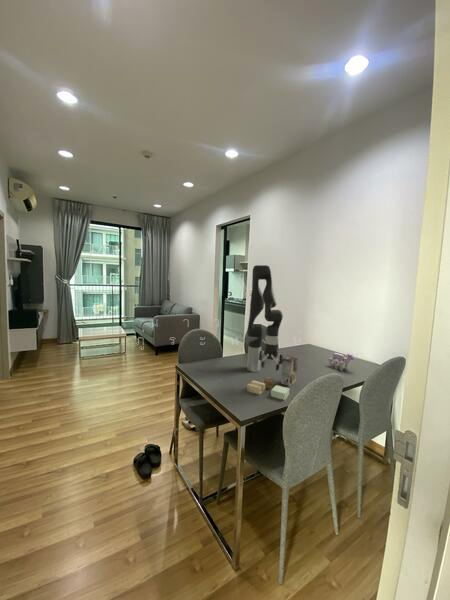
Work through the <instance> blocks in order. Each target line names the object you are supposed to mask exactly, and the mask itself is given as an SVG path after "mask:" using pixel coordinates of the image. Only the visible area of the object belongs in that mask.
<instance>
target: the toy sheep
mask: <svg viewBox="0 0 450 600" xmlns="http://www.w3.org/2000/svg"><path fill="white" fill-rule="evenodd" d="M353 360H357V358H356V357H355V356H354V355H353V353H350V352H348V353H345V354H341V353H338V352H333V354H332V357H329V358H328V361H329V362H328V363H329V364H328V365H329V367H330V368H331V367H332V365H333V366H334V369H336V370H338V367H339V368H340V371H341V372H342V371H343V368H344V369H345V370H347V368H348V364H349V363H350V361H353ZM332 362H333V364H332ZM344 363H345V365H344ZM343 366H344V367H343Z"/></svg>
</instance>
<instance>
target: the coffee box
mask: <svg viewBox="0 0 450 600" xmlns="http://www.w3.org/2000/svg"><path fill="white" fill-rule="evenodd" d="M281 365H282V367H281V378H280V380H281V381H280V384H282V385H284V386H285V385H286V386H288V387H291V386H292V385H293V384H295V383H296V382H297V381H296V380H297V371H298V370H297V369H298V357H294V356H291V355H287V356H286V357H284V358H283V363H282V364H281Z"/></svg>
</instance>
